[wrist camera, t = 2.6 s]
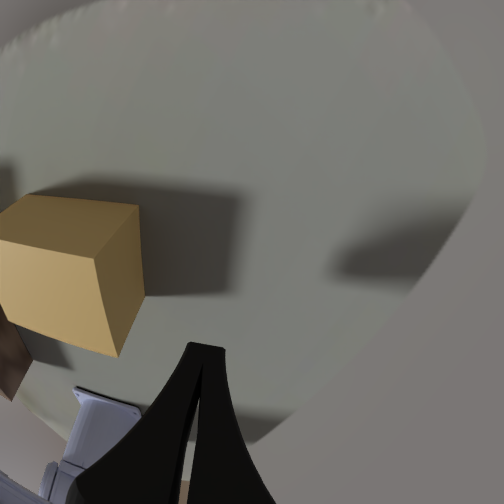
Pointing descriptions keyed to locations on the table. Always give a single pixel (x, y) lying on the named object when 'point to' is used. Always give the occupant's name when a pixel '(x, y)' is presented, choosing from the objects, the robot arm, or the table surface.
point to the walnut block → (11, 358)
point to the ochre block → (72, 269)
